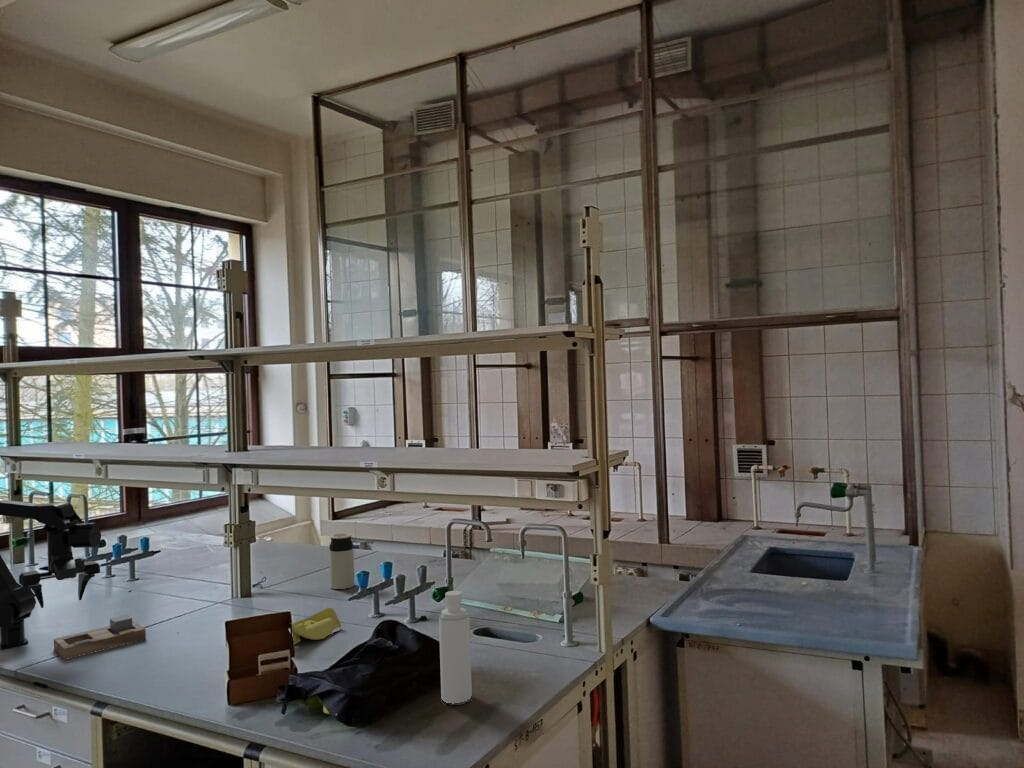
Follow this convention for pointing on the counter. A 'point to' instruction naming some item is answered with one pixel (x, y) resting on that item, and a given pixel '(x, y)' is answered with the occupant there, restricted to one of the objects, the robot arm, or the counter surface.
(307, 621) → the plastic component
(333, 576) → the travel mug
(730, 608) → the counter surface
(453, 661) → the white bottle
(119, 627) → the plug
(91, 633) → the socket bar
